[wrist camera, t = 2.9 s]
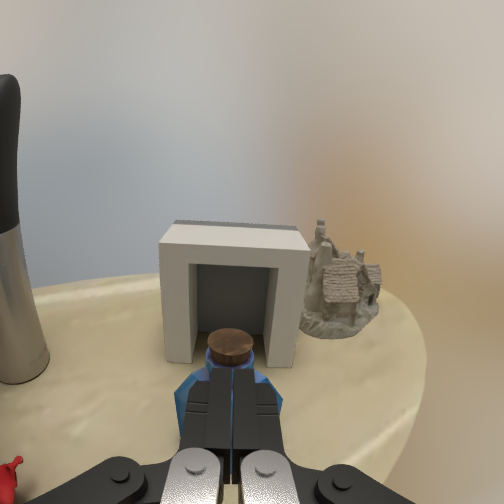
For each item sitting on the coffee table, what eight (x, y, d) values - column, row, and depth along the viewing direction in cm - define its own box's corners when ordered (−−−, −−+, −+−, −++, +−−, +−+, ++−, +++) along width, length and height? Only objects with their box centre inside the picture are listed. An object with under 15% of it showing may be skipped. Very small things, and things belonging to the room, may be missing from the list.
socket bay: (167, 361, 35) (158, 242, 30) (178, 322, 43) (176, 219, 38) (291, 367, 36) (310, 250, 30) (282, 327, 44) (295, 226, 39)
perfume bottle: (225, 477, 21) (227, 384, 17) (180, 435, 25) (168, 335, 21) (273, 440, 25) (293, 343, 21) (228, 407, 29) (232, 309, 25)
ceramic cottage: (291, 336, 42) (313, 231, 37) (289, 288, 57) (304, 209, 53) (392, 347, 41) (424, 251, 37) (367, 300, 57) (387, 225, 52)
